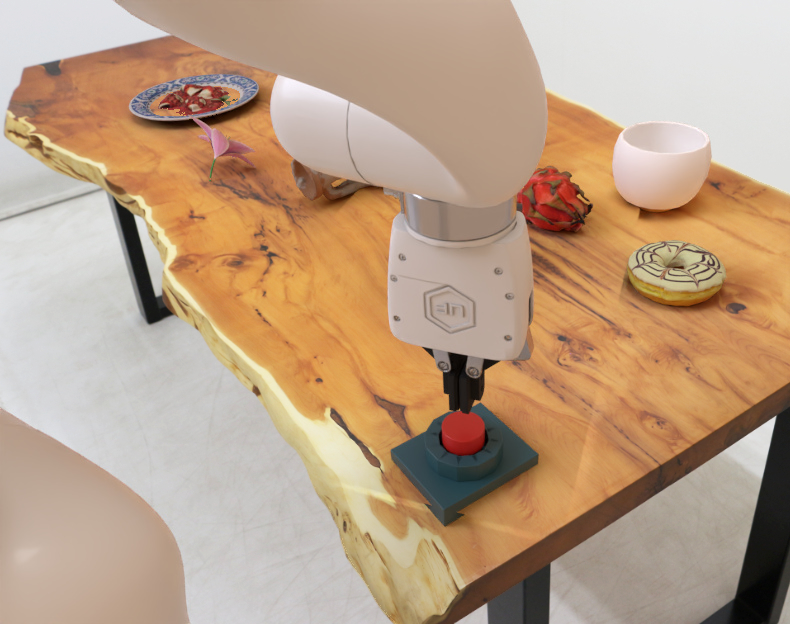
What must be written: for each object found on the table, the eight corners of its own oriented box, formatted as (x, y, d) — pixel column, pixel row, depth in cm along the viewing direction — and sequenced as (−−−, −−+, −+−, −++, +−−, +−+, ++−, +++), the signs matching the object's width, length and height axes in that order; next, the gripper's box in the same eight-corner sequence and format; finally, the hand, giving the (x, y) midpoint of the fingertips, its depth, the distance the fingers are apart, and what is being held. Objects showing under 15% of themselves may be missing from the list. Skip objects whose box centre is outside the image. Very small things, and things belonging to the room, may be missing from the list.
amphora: (497, 81, 106) (313, 90, 91) (492, 188, 112) (319, 213, 97) (444, 77, 117) (272, 84, 103) (442, 175, 123) (280, 195, 108)
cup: (637, 175, 106) (646, 112, 100) (717, 199, 98) (732, 132, 93) (590, 206, 99) (596, 140, 94) (672, 234, 92) (685, 165, 86)
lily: (262, 190, 113) (271, 129, 111) (186, 178, 108) (194, 113, 106) (244, 185, 123) (251, 129, 122) (174, 174, 118) (181, 115, 117)
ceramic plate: (104, 120, 141) (99, 105, 139) (193, 79, 159) (190, 65, 157) (201, 138, 130) (198, 122, 128) (286, 91, 147) (283, 77, 146)
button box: (444, 527, 58) (443, 495, 56) (391, 466, 64) (388, 435, 61) (537, 471, 62) (540, 439, 60) (480, 418, 68) (480, 387, 65)
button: (459, 462, 59) (458, 448, 58) (433, 437, 61) (433, 422, 60) (493, 443, 60) (493, 429, 59) (467, 419, 63) (467, 404, 62)
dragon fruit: (527, 214, 102) (577, 263, 94) (489, 197, 96) (538, 247, 88) (564, 164, 99) (619, 211, 91) (526, 144, 93) (581, 191, 85)
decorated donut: (734, 276, 83) (741, 249, 81) (702, 323, 77) (709, 294, 75) (647, 252, 89) (652, 225, 87) (611, 293, 82) (615, 266, 80)
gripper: (334, 214, 47) (362, 413, 58) (562, 244, 42) (546, 455, 53) (377, 166, 53) (396, 355, 63) (583, 186, 48) (565, 388, 58)
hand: (464, 400), depth 58 cm, fingers closed
